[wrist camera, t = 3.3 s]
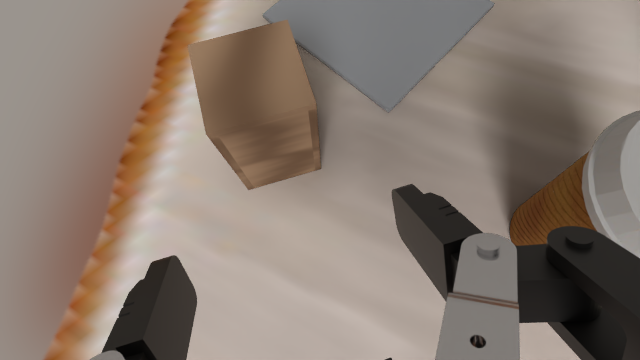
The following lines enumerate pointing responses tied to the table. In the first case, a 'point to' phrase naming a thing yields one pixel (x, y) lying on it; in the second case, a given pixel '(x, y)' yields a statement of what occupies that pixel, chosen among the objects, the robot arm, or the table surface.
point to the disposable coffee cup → (591, 192)
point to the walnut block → (258, 103)
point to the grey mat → (379, 38)
